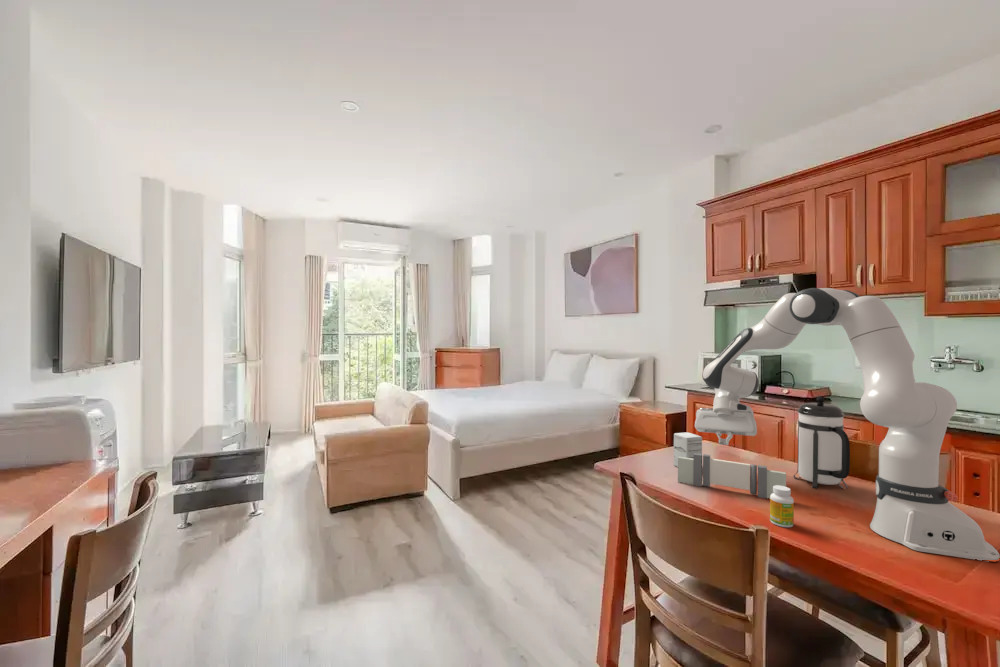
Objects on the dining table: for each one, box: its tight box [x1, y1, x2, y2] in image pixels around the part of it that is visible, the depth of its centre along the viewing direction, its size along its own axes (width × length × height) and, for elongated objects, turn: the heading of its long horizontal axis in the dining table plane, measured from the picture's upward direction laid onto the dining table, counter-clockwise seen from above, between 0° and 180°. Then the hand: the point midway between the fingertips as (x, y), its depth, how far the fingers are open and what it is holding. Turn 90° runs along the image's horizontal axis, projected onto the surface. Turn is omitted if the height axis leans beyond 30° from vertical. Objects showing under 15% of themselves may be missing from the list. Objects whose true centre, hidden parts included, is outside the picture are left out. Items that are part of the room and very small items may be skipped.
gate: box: [702, 453, 758, 495], centre depth 139 cm, size 15×2×10 cm, turn 58°
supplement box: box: [673, 431, 703, 468], centre depth 162 cm, size 7×7×13 cm
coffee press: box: [793, 395, 851, 490], centre depth 144 cm, size 17×16×30 cm
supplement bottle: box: [769, 485, 795, 528], centre depth 115 cm, size 5×5×10 cm
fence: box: [677, 453, 787, 500], centre depth 139 cm, size 31×2×10 cm, turn 58°
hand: (723, 444), depth 153 cm, fingers closed
